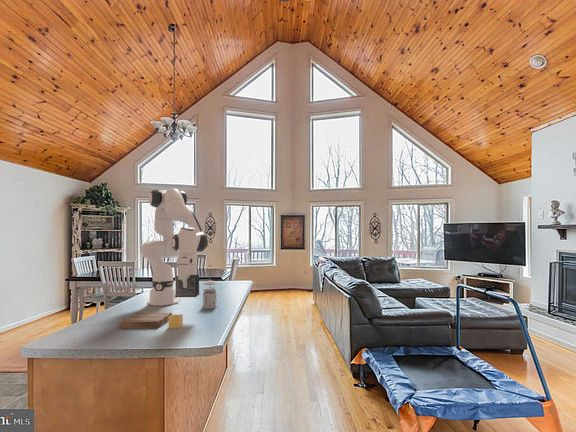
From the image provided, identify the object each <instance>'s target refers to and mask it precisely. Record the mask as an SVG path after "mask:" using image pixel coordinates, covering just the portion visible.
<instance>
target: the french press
mask: <svg viewBox="0 0 576 432" xmlns="http://www.w3.org/2000/svg"><path fill="white" fill-rule="evenodd" d="M207 267H212V264H210V263H209V264H208V266H207ZM216 284H217V282H216V281H214V280H211V279H209V280H205V281H204V282H203V283H202V285H204V286H210V288H206V289H203V291H204V292H203V293H202V298H203V299H202V305H201V308H202V309H213V308H217V307H219V305H218V304H217V291H216V290H217V289H216V288H215V286H213V287H212V285H216Z"/></svg>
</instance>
